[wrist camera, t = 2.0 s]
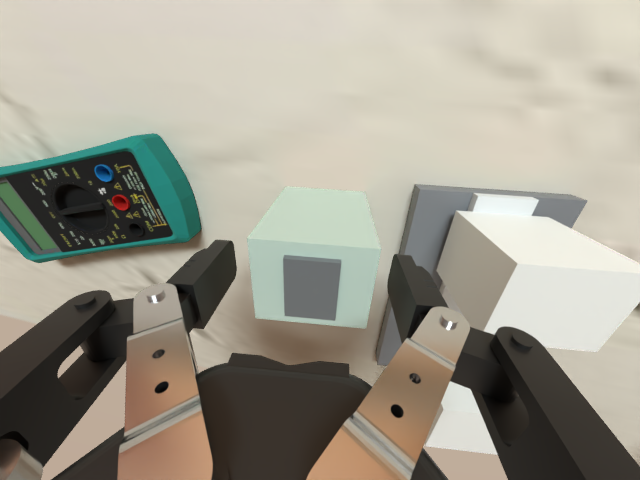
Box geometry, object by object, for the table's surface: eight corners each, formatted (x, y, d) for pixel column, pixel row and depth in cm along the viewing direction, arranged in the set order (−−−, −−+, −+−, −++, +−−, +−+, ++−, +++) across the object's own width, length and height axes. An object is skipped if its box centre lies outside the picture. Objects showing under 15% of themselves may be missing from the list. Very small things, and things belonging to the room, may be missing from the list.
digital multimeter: (212, 228, 20) (192, 245, 17) (60, 250, 22) (22, 268, 19) (171, 129, 16) (140, 132, 14) (-2, 167, 19) (-57, 176, 16)
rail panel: (571, 194, 16) (746, 258, 9) (479, 363, 24) (535, 466, 17) (415, 184, 16) (468, 237, 9) (375, 353, 24) (389, 449, 17)
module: (364, 191, 17) (382, 252, 10) (356, 248, 19) (366, 333, 12) (286, 186, 17) (244, 241, 10) (286, 242, 19) (253, 322, 12)
